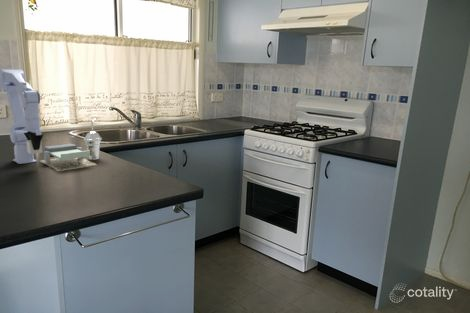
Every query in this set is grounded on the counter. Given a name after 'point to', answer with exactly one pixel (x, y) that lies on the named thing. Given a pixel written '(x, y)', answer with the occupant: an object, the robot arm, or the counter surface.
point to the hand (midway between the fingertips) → (34, 148)
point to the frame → (66, 162)
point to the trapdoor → (66, 151)
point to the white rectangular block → (30, 148)
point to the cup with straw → (93, 143)
